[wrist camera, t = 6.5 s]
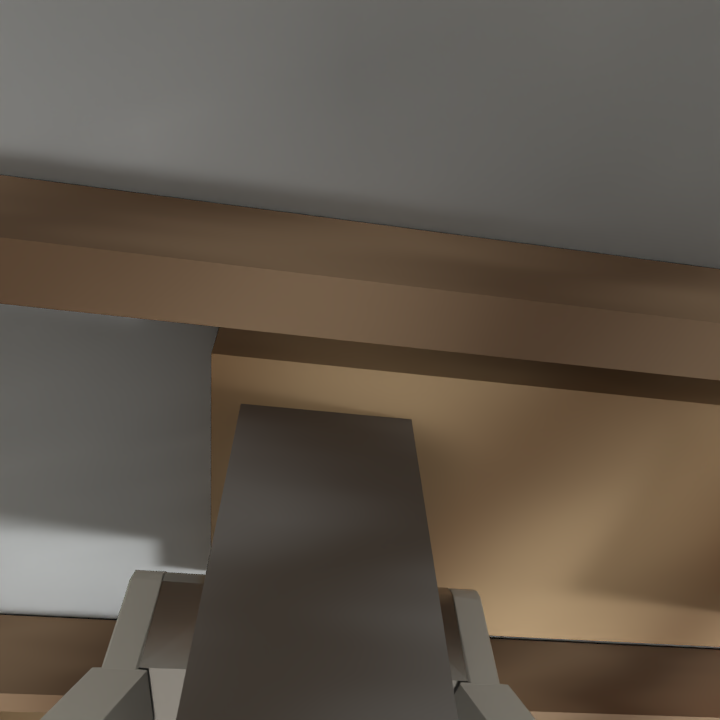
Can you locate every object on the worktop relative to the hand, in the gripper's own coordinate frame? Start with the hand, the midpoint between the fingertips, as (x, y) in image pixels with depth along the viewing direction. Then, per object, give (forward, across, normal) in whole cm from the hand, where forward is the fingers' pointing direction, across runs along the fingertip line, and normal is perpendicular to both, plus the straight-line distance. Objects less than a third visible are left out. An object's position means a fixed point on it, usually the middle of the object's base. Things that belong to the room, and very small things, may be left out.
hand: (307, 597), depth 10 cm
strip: (+3, -11, 0) cm, 11 cm away
